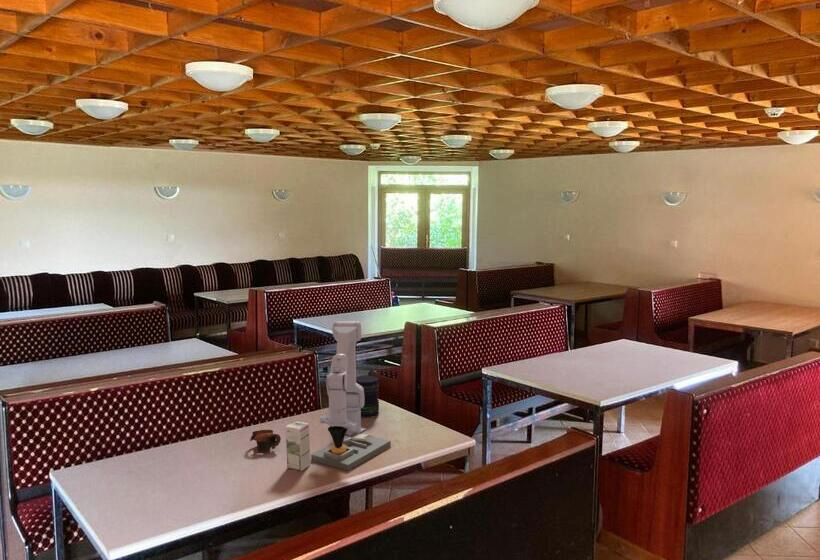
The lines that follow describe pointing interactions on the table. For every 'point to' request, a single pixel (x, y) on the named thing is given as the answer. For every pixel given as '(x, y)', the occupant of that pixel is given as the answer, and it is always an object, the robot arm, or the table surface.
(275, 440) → the pottery mug
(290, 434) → the syrup box
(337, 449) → the push button
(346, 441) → the pale beige block
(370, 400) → the storage jar
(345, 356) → the robot arm
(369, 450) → the control panel
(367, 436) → the plate
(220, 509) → the table surface
